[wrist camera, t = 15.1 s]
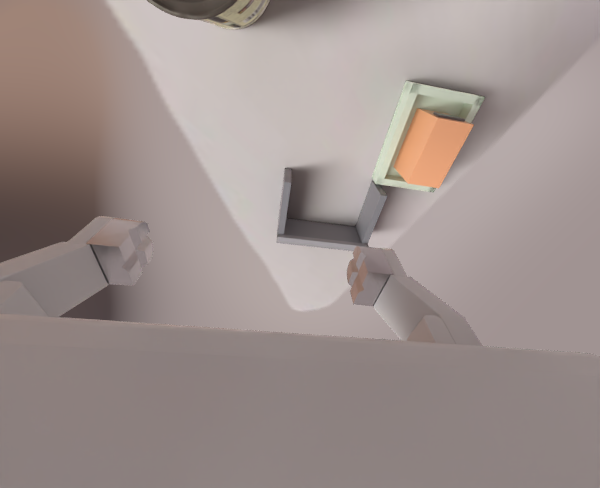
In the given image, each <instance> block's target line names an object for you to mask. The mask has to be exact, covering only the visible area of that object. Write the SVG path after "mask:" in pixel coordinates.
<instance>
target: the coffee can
mask: <svg viewBox="0 0 600 488" xmlns="http://www.w3.org/2000/svg"><path fill="white" fill-rule="evenodd" d="M147 1H148V2H149V3H151V4H153V5H154V6H156V7H157V8H159V9H160V10H162V11H164V12H166V13H168V14H171V15H173V16H176V17H180V18H185V19H194V20H201V21H204V22H207V23H211V24H215V25H216V26H219V27H222V28H225V29H232V30H234V29H241V28H245V27H247V26H249V25H252V24H253V23H254V22H255V21H256V20H257V19H258V18H259V17H260V16H261V15H262V14H263V12H264V11H265V9H266V7H267V6H268V3H269V1H270V0H147Z"/></svg>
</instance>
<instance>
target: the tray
mask: <svg viewBox="0 0 600 488" xmlns="http://www.w3.org/2000/svg"><path fill="white" fill-rule="evenodd" d="M484 99H485V97H483V96H479V95H475V94H471V93H466V92H461V91H456V90H450V89H445V88H440V87H435V86H430V85H425V84H420V83H415V82H410V81H406V82H405V85H404V88H403V91H402V94H401V96H400V99H399V102H398V105H397V108H396V110H395V113H394V116H393V119H392V122H391V124H390V127H389V130H388V133H387V136H386V138H385V141H384V144H383V147H382V150H381V153H380V155H379V158H378V161H377V164H376V167H375V169H374V172H373V175H372V179H373V181H374V182H375V184H379V185H386V186H393V187H400V188H407V189H414V190H421V191H428V192H434V191H435V189H436V188H434V187H427V186H421V185H414V184H408V183H407V182H406V181H405V180H404V179H403V177H402V176H401V175H400V174H399V173H398V172H397V170H396V169H395V168H394V167H393V166H394V164H395V161H396V159H397V156H398V154H399V151H400V149H401V146H402V144H403V141H404V139H405V136H406V134H407V131H408V129H409V127H410V124H411V122H412V119H413V117H414V114H415V112H416V109H417V108H420V109H425V110H430V111H436V112H441V113H446V114H450V115H453V116H458V117H461V118H463V119H465V121H466V122H469V123H472V121H473V119H474V117H475V115H476V113H477V112H478V110H479V108H480V106H481V104H482V102H483V100H484Z"/></svg>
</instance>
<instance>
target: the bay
mask: <svg viewBox="0 0 600 488" xmlns="http://www.w3.org/2000/svg"><path fill="white" fill-rule="evenodd" d="M290 189H291V169H288V168H285V172H284V180H283V188H282V196H281V204H280V212H279V220H278V231H277V243H283V244H293V245H302V246H311V247H320V248H329V249H338V250H348V251H354V249H355V247H356V246H362V247H368V241H369V239H370V237H371V234H372V232H373V229H374V227H375V225H376V222H377V220H378V218H379V215H380V213H381V210H382V208H383V206H384V203H385V201H386V198H387V195H386V193H385V192H384V190H383V189H382V187H381V185H379V184H375V182H374V181H372V182H371V185H370V188H369V191H368V193H367V196H366V199H365V202H364V204H363V207H362V210H361V213H360V216H359V218H358V221H357V224H356V227H353V226H345V225H337V224H329V223H320V222H312V221H304V220H296V219H287V218H286V216H287V209H288V202H289V196H290Z"/></svg>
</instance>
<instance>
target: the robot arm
mask: <svg viewBox="0 0 600 488" xmlns="http://www.w3.org/2000/svg"><path fill="white" fill-rule="evenodd" d="M148 232H149V228H148V224H147V223H145V222H143V221H135V220H128V219H121V218H113V217H104V216H100V217H96V218H95V219H94V220H93V221H92V222H90V223H89V224H88V225H87V226H86V227H85V228H83V229H82V230H81V231H80V232H79V233H78V234H77V235H75V236H74V237H73V238H72V239H70V240H69V241H68V242H60V243H57V244H55V245H51V246H49V247H46V248H43V249H40V250H37V251H34V252H31V253H28V254H25V255H22V256H19V257H17V258H13V259H11V260H8V261H5V262H2V263H0V488H600V356H597V355H593V354H588V353H580V352H564V351H548V350H533V349H518V348H504V347H489V346H488V347H487V346H482V344H481V343H480V341H479V340H478V338H477V336H476V335H475V333H474V332H473V330H472V329H471V327H470V325H469V324H468V322H467V321H466V319H465V318H464V317H463V316H462V315H461V314H459V313H458V312H457V311H455V310H454V309H453V308H451V307H450V306H449V305H447V304H446V303H445V302H443V301H442V300H441V299H439V298H438V297H437V296H435V295H434V294H433V293H431V292H430V291H429V290H427V289H426V288H425V287H424V286H422V285H421V284H419V283H418V282H417V281H415V280H414V279H413V278H412V277H407V275H406V273H405V271H404V269H403V267H402V266H401V263H400V261H399V259H398V257H397V256H396V254H395V252H394V250H392V249H386V248H371V247H362V246H356V247H355V249H354V251H353V256H354V259H352V260H351V261H350V262H349V265H348V268H347V280H348V283H349V284H350V285H351V286H352V288H351V290H350V292H351V297H352V301H353V304H357V305H366V306H373V308H374V309H375V310H376V311H377V312H378V314H379V315H380V316H381V317H382V318H383V319H384V321H385V322H386V323H387V324H388V325H389V326H390V328H391V329H392V330H393V331H394V332H395V334H396V335H397V336H398V337H399V338H400V340H386V339H369V338H355V337H341V336H327V335H312V334H298V333H283V332H268V331H254V330H239V329H224V328H210V327H195V326H180V325H165V324H150V323H135V322H121V321H106V320H91V319H77V318H62V317H59V316H60V315H62V314H64V313H65V312H67V311H68V310H70V309H72V308H73V307H74V306H76V305H78V304H79V303H81V302H83V301H84V300H85V299H87V298H89V297H90V296H92V295H93V294H95V293H97V292H98V291H100V290H101V289H103V288H105V287H106V286H108V284H118V285H134V284H135V283H136V281H137V279H138V278H139V276H140V275H141V274H142V269H141V267H143V266H145V265H147V264H148V263H149V262H150V260H151V258H152V255H153V242H152V240H151V239H150V238H149V237H148V236H147V234H148Z"/></svg>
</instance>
